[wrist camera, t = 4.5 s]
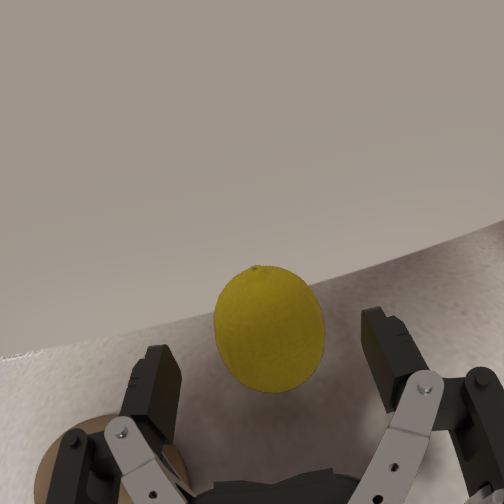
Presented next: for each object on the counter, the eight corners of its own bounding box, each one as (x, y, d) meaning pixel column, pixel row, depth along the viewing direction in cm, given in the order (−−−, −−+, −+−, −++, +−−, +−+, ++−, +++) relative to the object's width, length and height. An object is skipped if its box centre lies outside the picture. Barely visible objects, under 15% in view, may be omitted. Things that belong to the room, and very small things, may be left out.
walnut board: (231, 487, 12) (226, 482, 12) (100, 596, 6) (90, 595, 6) (121, 397, 18) (116, 390, 18) (23, 477, 12) (15, 471, 12)
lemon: (238, 352, 21) (204, 248, 17) (322, 341, 20) (309, 230, 16) (232, 423, 16) (182, 316, 12) (334, 411, 15) (328, 296, 11)
